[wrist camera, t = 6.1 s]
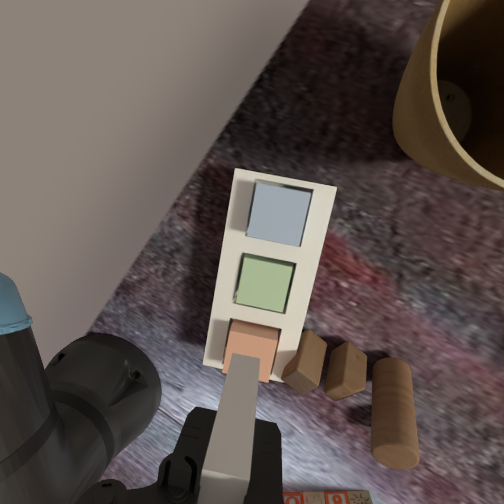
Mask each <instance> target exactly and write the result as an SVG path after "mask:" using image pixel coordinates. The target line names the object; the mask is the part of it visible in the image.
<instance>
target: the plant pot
mask: <svg viewBox="0 0 504 504" xmlns="http://www.w3.org/2000/svg"><path fill="white" fill-rule="evenodd" d="M448 95H450V98H449V99H448V100H447V99H446V97H447V96H448ZM392 126H393V134H394V137H395V140H396V142H397V143H398V145H399V147H400V148H401V149H402V150H403V151H404V152H405V153H406V154H407V155H408V156H409V157H410V158H412V159H413V160H414V161H416V162H417V163H419V164H420V165H422V166H424V167H426V168H428V169H430V170H432V171H434V172H436V173H439V174H441V175H444V176H447V177H449V178H452V179H455V180H459V181H462V182H465V183H469V184H472V185H477V186H481V187H485V188H489V189H494V190H499V191H504V0H440V2H439V3H438V5H437V7H436V9H435V10H434V12H433V14H432V16H431V17H430V19H429V21H428V23H427V25H426V27H425V29H424V30H423V32H422V34H421V36H420V38H419V40H418V42H417V44H416V46H415V48H414V50H413V52H412V55H411V57H410V59H409V61H408V64H407V66H406V69H405V71H404V74H403V77H402V79H401V82H400V85H399V88H398V92H397V95H396V99H395V104H394V109H393V118H392Z"/></svg>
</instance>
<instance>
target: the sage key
mask: <svg viewBox="0 0 504 504" xmlns="http://www.w3.org/2000/svg"><path fill="white" fill-rule="evenodd" d="M292 268H293V266H292V262H289V261H284V260H279V259H274V258H269V257H264V256H259V255H254V254H249V253H246V255H245V257H244V262H243V268H242V273H241V278H240V284H239V289H238V295H237V300H236V303H240V304H245V305H250V306H255V307H259V308H264V309H269V310H274V311H279V312H283V308H284V304H285V299H286V295H287V290H288V286H289V282H290V277H291V273H292Z"/></svg>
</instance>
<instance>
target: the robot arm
mask: <svg viewBox="0 0 504 504" xmlns="http://www.w3.org/2000/svg"><path fill="white" fill-rule="evenodd" d="M32 323H33V321H32V317H30V316H29V315H28V314H27V312H26V310H25V307H24V305H23V302H22V300H21V297H20V294H19V292H18V289H17V286H16V285H15V283H14V282H13V280H11V279H10V278H9V277H8V276H6V275H4V274H2V273H0V504H285V503H284V500H283V488H282V458H281V457H282V448H281V433H280V430H279V428H278V426H277V424H276V423H273V422H269V421H264V420H260V419H255V414H256V403H257V391H258V380H259V368H260V358H256V357H251V356H246V355H241V354H237V353H232V357H231V361H230V365H229V368H228V372H227V376H226V380H225V384H224V388H223V392H222V395H221V399H220V403H219V407H218V411H215V410H210V409H206V408H201V407H195V408H194V409H193V410H192V411H191V412H190V413H189V414H188V415H187V418H186V420H185V423H184V426H183V428H182V431H181V433H180V436H179V439H178V441H177V444H176V446H175V449H174V451H173V453H171V454H170V455H168V456H167V457H165V458H164V459H163V461H162V462H161V464H160V466H159V472H158V480H157V482H155V483H154V484H152V485H150V486H148V487H144V488H138V489H130V490H127V489H126V486H125V485H124V484H123V483H122V482H121V481H118V480H115V479H106V480H102V481H100V482H99V480H100V478H101V476H102V475H103V473H104V471H105V470H106V468H107V467H108V465H109V463H110V462H111V460H112V459H113V458H114V457H115V456H116V455H118V454H119V453H120V452H121V451H122V450H123V449H124V448H126V447H127V446H128V445H129V444H130V443H131V442H132V441H133V440H134V439H136V438H137V437H138V436H139V435H140V434H141V433H142V432H143V431H144V430H145V429H146V428H147V427H148V425H149V424H150V422H151V421H152V419H153V417H154V415H155V413H156V411H157V410H158V407H159V405H160V401H161V394H162V389H161V382H160V378H159V375H158V373H157V370H156V368H155V367H154V365H153V363H152V362H151V361H150V359H149V358H148V357H147V356H146V355H145V354H144V353H143V352H142V351H141V350H140V349H139V348H137V347H136V346H135V345H133V344H131V343H130V342H128V341H126V340H124V339H121V338H118V337H115V336H111V335H104V334H94V335H87V336H84V337H81V338H79V339H77V340H75V341H73V342H72V343H70V344H69V345H67V346H66V347H65V348H63V349H62V350H61V351H60V352H59V353H57V354H56V355H55V356H54V357H53V359H52V360H51V361H50V363H49V364H48V366H47V367H46V369H45V370H44V367H43V363H42V360H41V357H40V354H39V351H38V347H37V345H36V341H35V338H34V335H33V332H32V328H31V324H32Z"/></svg>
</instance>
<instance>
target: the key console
mask: <svg viewBox="0 0 504 504" xmlns="http://www.w3.org/2000/svg"><path fill="white" fill-rule="evenodd" d="M257 183H260V184H265V185H271V186H276V187H281V188H286V189H292V190H297V191H302V192H308V193H311V196H310V201H309V205H308V209H307V214H306V218H305V223H304V227H303V231H302V236H301V240H300V245H299V246H294V245H289V244H284V243H279V242H274V241H269V240H264V239H259V238H254V237H249V236H247V234H248V229H249V223H250V218H251V212H252V207H253V201H254V196H255V190H256V185H257ZM336 190H337V187H333V186H328V185H323V184H317V183H312V182H307V181H301V180H296V179H291V178H285V177H280V176H274V175H269V174H264V173H258V172H253V171H248V170H242V169H237V168H235V172H234V178H233V184H232V190H231V196H230V202H229V208H228V214H227V220H226V227H225V233H224V239H223V245H222V251H221V257H220V263H219V269H218V275H217V281H216V287H215V293H214V300H213V306H212V312H211V318H210V324H209V330H208V336H207V342H206V348H205V354H204V360H203V365H207V366H211V367H216V368H220V369H223V365H224V360H225V354H226V349H227V343H228V338H229V332H230V329H231V326H232V323H233V320H234V319H238V320H243V321H248V322H252V323H257V324H262V325H266V326H271V327H276V328H278V342H277V346H276V351H275V355H274V359H273V364H272V368H271V373H270V377H269V379H270V380H275V381H279V382H283V381H282V380H281V376H282V373H283V370H284V367H285V366H286V365H287V364H288V363H289V362H290V361H291V360H292V358H293V357H294V356H295V355H296V353H297V349H298V345H299V340H300V336H301V332H302V328H303V324H304V320H305V316H306V312H307V308H308V304H309V300H310V296H311V292H312V288H313V283H314V279H315V275H316V271H317V267H318V263H319V259H320V255H321V251H322V247H323V243H324V239H325V235H326V231H327V226H328V222H329V218H330V214H331V210H332V206H333V202H334V198H335V194H336ZM246 253H249V254H254V255H259V256H264V257H269V258H274V259H279V260H284V261H289V262H292V266H293V268H292V273H291V277H290V282H289V286H288V290H287V295H286V299H285V304H284V308H283V312H279V311H274V310H269V309H264V308H259V307H255V306H250V305H245V304H240V303H236V300H237V295H238V289H239V284H240V278H241V273H242V268H243V262H244V257H245V255H246ZM284 383H285V382H284Z"/></svg>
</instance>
